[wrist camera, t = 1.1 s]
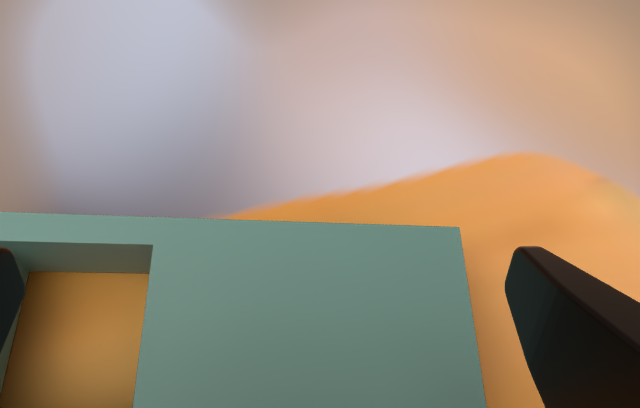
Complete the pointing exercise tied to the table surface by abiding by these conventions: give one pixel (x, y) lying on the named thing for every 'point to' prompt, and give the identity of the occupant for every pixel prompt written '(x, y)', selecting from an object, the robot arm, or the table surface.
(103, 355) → the table surface
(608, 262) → the table surface
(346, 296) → the bar
